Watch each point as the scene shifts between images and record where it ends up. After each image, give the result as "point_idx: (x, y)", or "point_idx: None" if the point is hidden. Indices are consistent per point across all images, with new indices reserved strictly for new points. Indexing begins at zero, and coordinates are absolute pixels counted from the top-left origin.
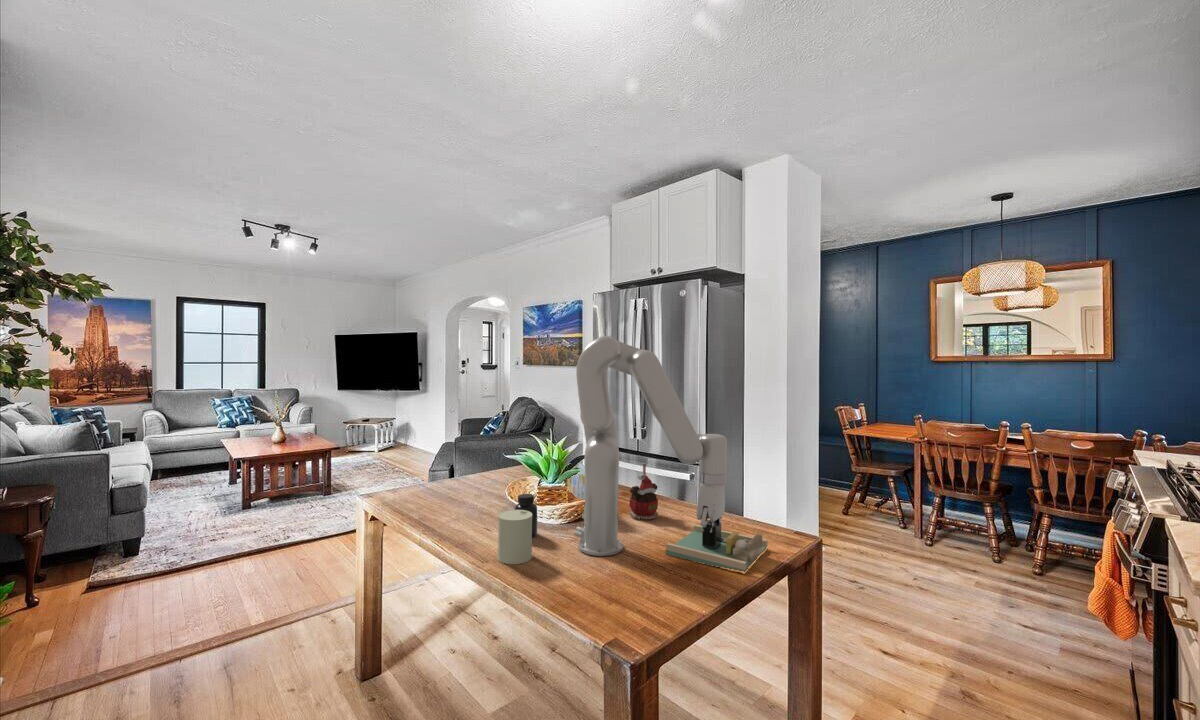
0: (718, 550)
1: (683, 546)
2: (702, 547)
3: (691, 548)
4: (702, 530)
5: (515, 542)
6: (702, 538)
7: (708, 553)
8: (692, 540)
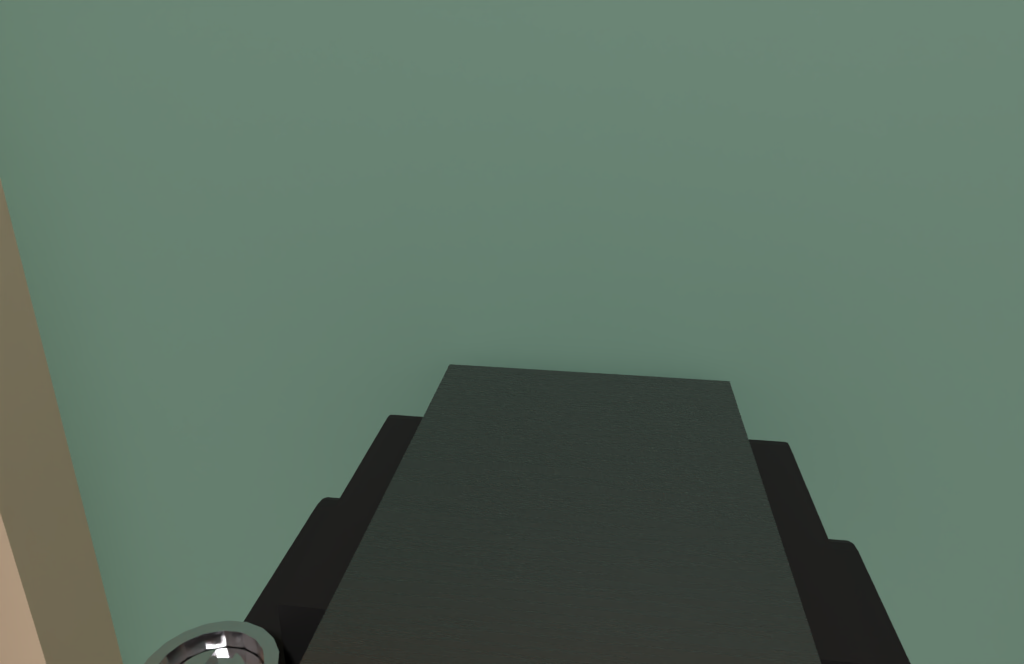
0: None
1: (236, 39)
2: (429, 370)
3: (256, 220)
4: (166, 644)
5: None
6: (413, 440)
7: (9, 633)
8: (681, 58)
